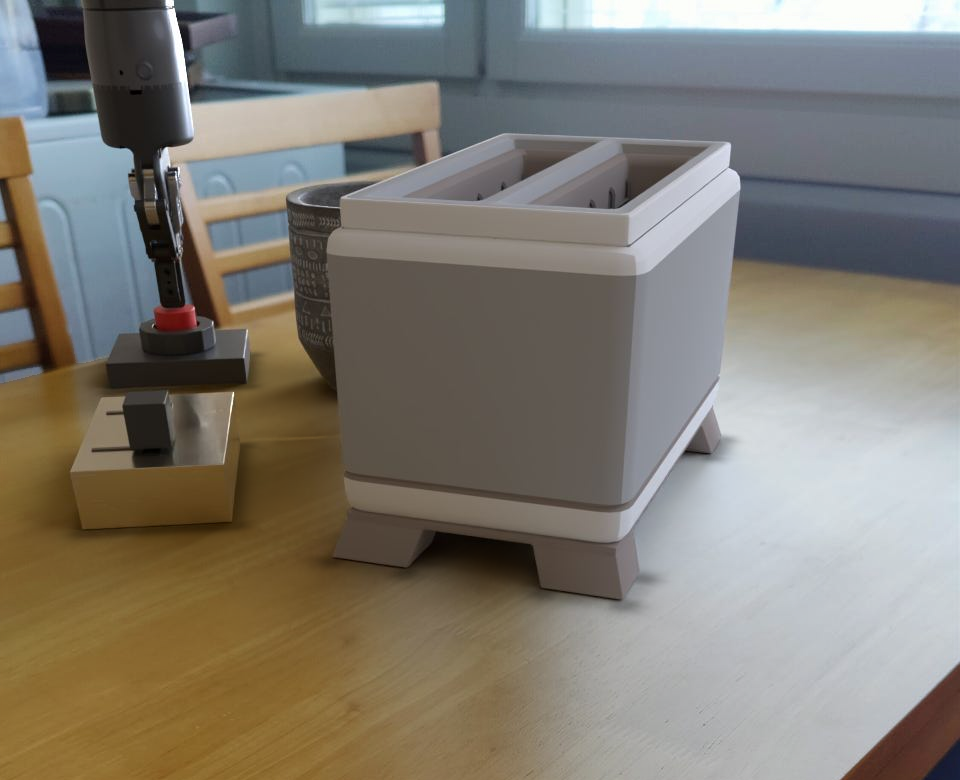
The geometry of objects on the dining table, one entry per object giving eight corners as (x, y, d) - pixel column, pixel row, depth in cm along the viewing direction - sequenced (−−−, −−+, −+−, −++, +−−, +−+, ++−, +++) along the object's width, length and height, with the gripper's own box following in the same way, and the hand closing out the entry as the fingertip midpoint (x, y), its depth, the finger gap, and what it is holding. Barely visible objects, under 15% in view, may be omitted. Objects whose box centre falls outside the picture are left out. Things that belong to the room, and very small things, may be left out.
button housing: (110, 389, 107) (101, 342, 104) (123, 358, 115) (115, 313, 112) (247, 383, 108) (241, 336, 105) (250, 352, 116) (245, 308, 113)
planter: (432, 352, 115) (427, 175, 106) (483, 394, 105) (483, 201, 96) (286, 368, 112) (268, 185, 103) (324, 413, 101) (307, 214, 92)
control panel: (82, 529, 82) (69, 470, 79) (111, 449, 94) (100, 396, 92) (231, 522, 83) (223, 462, 80) (240, 443, 95) (233, 390, 93)
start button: (154, 335, 108) (151, 314, 106) (158, 324, 110) (155, 304, 109) (195, 333, 108) (192, 312, 107) (198, 323, 111) (195, 302, 110)
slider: (130, 450, 82) (121, 405, 80) (134, 435, 84) (126, 391, 82) (171, 448, 82) (164, 403, 80) (175, 433, 85) (168, 389, 83)
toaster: (729, 425, 98) (763, 134, 86) (623, 600, 72) (649, 222, 60) (504, 401, 103) (506, 124, 91) (332, 557, 78) (301, 201, 65)
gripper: (102, 70, 102) (139, 290, 113) (79, 86, 92) (123, 327, 102) (191, 68, 103) (220, 287, 114) (179, 83, 93) (212, 323, 103)
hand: (174, 305), depth 108 cm, fingers closed
